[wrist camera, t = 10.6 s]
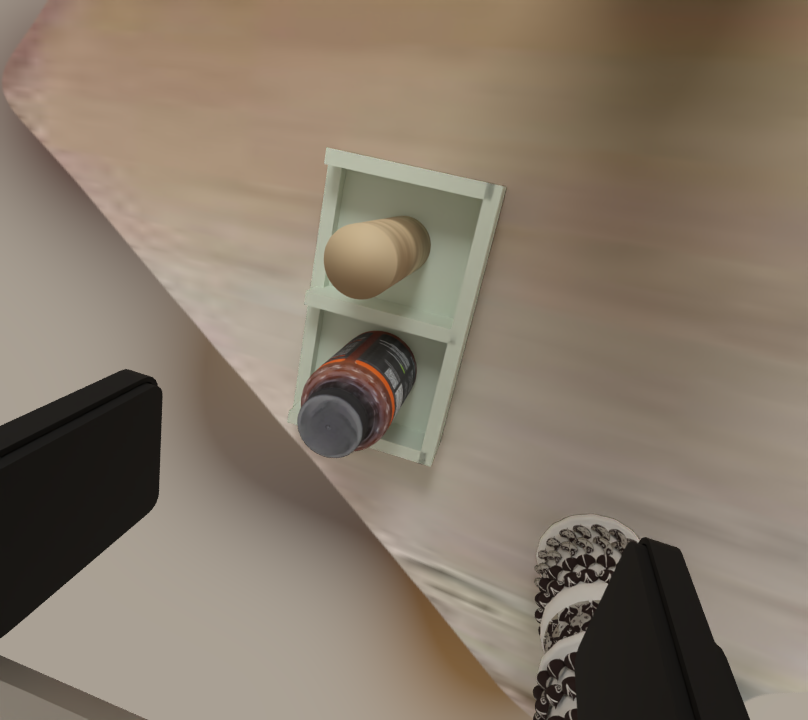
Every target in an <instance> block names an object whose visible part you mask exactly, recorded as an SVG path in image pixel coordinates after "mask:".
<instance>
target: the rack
mask: <svg viewBox="0 0 808 720" xmlns="http://www.w3.org/2000/svg"><path fill="white" fill-rule="evenodd" d="M324 164H327V165H328V169H327V176H326V183H325V190H324V197H323V204H322V211H321V218H320V224H319V231H318V238H317V245H316V252H315V259H314V266H313V273H312V280H311V287H310V289H309V290H307V291H306V295H305V302H304V305H308V307H307V314H306V321H305V328H304V335H303V342H302V349H301V356H300V363H299V370H298V376H297V383H296V390H295V397H294V404H293V408H292V409H291V410H289V414H288V421H287V423H291V424H294V425H297V419H298V414H299V411H300V409H301V396H302V391H303V388H304V386H305V384H306V382H307V380H308V379H309V377H310V376H311V375H312V374H313V373H314V372H315V371H316V370H317V369H318V368H319V367H320V366H322V365H323V364H324V363H325V362H326V361H328V360H329V359H330V358H331V357H332V356H333V355H335V354H336V353H337V352H338V351H339V350H340V349H342V348H343V347H344V346H345V345H346V344H347V343H349V342H350V341H351V340H352V339H354V338H355V337H357V336H358V335H360V334H362V333H365V332H368V331H385V332H389V333H391V334H394V335H396V336H397V337H399V338H400V339H402V340H403V341H404V342H405V343H406V344H407V345H408V347H409V348H410V349H411V351H412V353H413V355H414V358H415V361H416V364H417V374H416V380H415V382H414V385H413V387H412V389H411V391H410V393H409V394H408V396H407V398H406V399H405V401H404V403H403V404H402V406H401V408H400V409H399V411H398V413H397V414H396V416H395V418H394V420H393V421H392V423H391V425H390V426H389V428H388V429H387V431H386V433H385V434H384V435H383V437H382V438H381V439H380V440H379V441H378V442H376V443H375V444H373V445H372V446H370V447H368V448H371V449H374V450H378V451H381V452H384V453H387V454H391V455H394V456H397V457H400V458H403V459H407V460H410V461H413V462H416V463H420V464H423V465H426V466H429V467H431V465H432V463H433V460H434V458H435V455H436V452H437V450H438V447H439V444H440V441H441V437H442V433H443V429H444V425H445V422H446V418H447V414H448V410H449V406H450V402H451V399H452V395H453V391H454V387H455V383H456V379H457V376H458V372H459V368H460V364H461V360H462V356H463V353H464V349H465V345H466V341H467V337H468V333H469V330H470V326H471V322H472V318H473V314H474V310H475V307H476V303H477V299H478V295H479V291H480V287H481V284H482V280H483V276H484V272H485V268H486V264H487V261H488V257H489V253H490V249H491V245H492V241H493V238H494V234H495V230H496V226H497V222H498V218H499V215H500V211H501V207H502V203H503V199H504V195H505V192H506V188H507V187H505V186H500V185H496V184H491V183H487V182H482V181H478V180H473V179H468V178H464V177H459V176H455V175H450V174H446V173H441V172H437V171H432V170H427V169H423V168H418V167H414V166H409V165H405V164H400V163H396V162H391V161H386V160H382V159H377V158H373V157H368V156H364V155H359V154H355V153H350V152H345V151H341V150H336V149H332V148H327V147H326V154H325V161H324ZM396 216H409V217H412V218H415V219H416V220H418V221H419V222H421V223H422V224H423V225H424V227H425V228H426V229H427V231H428V233H429V236H430V241H431V249H430V254H429V257H428V259H427V260H426V262H425V263H424V265H423V266H421V267H420V268H419V269H418V270H416V271H414V272H413V273H411V274H410V275H408V276H407V277H405V278H404V279H402V280H401V281H399V282H398V283H396V284H394V285H393V286H391V287H390V288H388V289H387V290H385V291H384V292H382V293H381V294H379V295H377V296H375V297H373V298H369V299H353V298H350V297H347V296H345V295H344V294H342V293H340V292H339V291H338V290H337V289H336V288H335V287H334V286H333V285H332V283H331V282H330V280H329V279H328V277H327V274H326V271H325V268H324V251H325V247H326V245H327V242H328V241H329V239H330V237H331V236H332V235H333V234H334V233H335V232H336V231H337V230H338V229H340V228H342V227H344V226H346V225H349V224H354V223H360V222H366V221H372V220H378V219H384V218H390V217H396ZM297 426H298V425H297Z"/></svg>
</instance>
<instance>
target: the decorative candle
mask: <svg viewBox="0 0 808 720" xmlns="http://www.w3.org/2000/svg"><path fill="white" fill-rule="evenodd" d="M639 541H640V540H639V539H638V537H637V536H636V534H635V533H634V532H633V531H632V530H631V529H629V528H628V527H626V526H625V525H623V524H622V523H620V522H618V521H617V520H615V519H612V518H608V517H604V516H600V515H596V514H585V515H573V516H569V517H567V518H565V519H563V520H560V521H558V522H556V523H554V524H552V525H551V527H550V528H549V529H548V530H547V531H546V532H545V533H544V534H543V535H542V537H541V538H540V542H539V545H538V549H537V553H536V558H537V563H538V565H536V566H535V571H536V572H537V573H540V574H541V576H542V578H536V579H535V581H534V582H535V585H536V586H537V587H539V589H540V591H541V592H540V593H538V594H537V595H536V596H535V601H536V604H537V605H538V606H539V607H541V608H539V609H537V610H536V612H535V618H536V620H537V621H538V623H540V626H539V635H540V636H541V643H542V648H543V652H544V655H543V656H542V659H541V662H540V666H539V669H538V673H537V676H536V682H537V686H536V687H534V689H533V695H534V698H535V699H536V700H537V701H536V703H535V710H536V713H535V714H534V717H533V720H578V717H577V701H576V685H575V658H576V653H577V650H578V647H579V645H580V643H581V641H582V638H583V636H584V634H585V632H586V630H587V628H588V626H589V624H590V621H591V619H592V617H593V615H594V613H595V611H596V609H597V607H598V604H599V602H600V600H601V598H602V596H603V594H604V592H605V589H606V587H607V585H608V583H609V581H610V579H611V577H612V575H613V572H614V570H615V568H616V566H617V564H618V562H619V560H620V558H621V555H622V553H623V551H624V549H625V547H626V545H627V544H628V543H629V542H634V543H638V542H639Z"/></svg>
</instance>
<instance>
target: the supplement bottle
mask: <svg viewBox="0 0 808 720" xmlns="http://www.w3.org/2000/svg"><path fill="white" fill-rule="evenodd" d="M416 374H417V364H416V361H415V358H414V355H413V353H412V351H411V349H410V348H409V347H408V345H407V344H406V343H405V342H404V341H403V340H402V339H400V338H399V337H397V336H396V335H394V334H391V333H389V332H385V331H368V332H365V333H362V334H360V335H358V336H357V337H355V338H354V339H352V340H351V341H350V342H349V343H347V344H346V345H345V346H344V347H343V348H342V349H340V350H339V351H338V352H337V353H336V354H335V355H333V356H332V357H331V358H330V359H329V360H328V361H326V362H325V363H324V364H323V365H322V366H320V367H319V368H318V369H317V370H316V371H315V372H314V373H313V374H312V375H311V376H310V377H309V379H308V380H307V382H306V384H305V386H304V388H303V391H302V396H301V409H300V411H299V414H298V419H297V425H298V431H299V434H300V436H301V438H302V440H303V441H304V443H305V444H306V445H307V446H308V447H309V448H310V449H311V450H313V451H314V452H316V453H317V454H319V455H322V456H324V457H328V458H340V457H344V456H347V455H349V454H350V453H352V452H353V451H359V450H363V449H366V448H368V447H370V446H372V445H373V444H375V443H376V442H378V441H379V440H380V439H381V438H382V437H383V435H384V434H385V433H386V431H387V429H388V428H389V426H390V425H391V423H392V421H393V420H394V418H395V416H396V414H397V413H398V411H399V409H400V408H401V406H402V404H403V403H404V401H405V399H406V398H407V396H408V394H409V393H410V391H411V389H412V387H413V385H414V382H415V380H416Z"/></svg>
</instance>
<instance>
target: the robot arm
mask: <svg viewBox="0 0 808 720" xmlns="http://www.w3.org/2000/svg"><path fill="white" fill-rule="evenodd" d="M161 420H162V390H161V388H159V387H158V386H157V382H156V380H155V379H154V378H153V377H150V376H147V375H144V374H141V373H138V372H135V371H132V370H127V369H125V370H122V371H119V372H117V373H115V374H112V375H110V376H108V377H106V378H104V379H102V380H99V381H97V382H95V383H93V384H91V385H88V386H86V387H85V388H82V389H80V390H78V391H76V392H74V393H71V394H69V395H67V396H65V397H62V398H60V399H58V400H56V401H54V402H51V403H49V404H47V405H45V406H43V407H40V408H38V409H36V410H34V411H32V412H30V413H27V414H25V415H23V416H21V417H19V418H16V419H14V420H12V421H10V422H8V423H6V424H4V425H1V426H0V638H1V637H3V636H4V635H5V634H7V633H8V632H9V631H10V630H12V629H13V628H14V627H15V626H16V625H18V623H20V622H21V621H22V620H23V619H25V618H26V617H27V616H28V615H29V614H30V613H32V612H33V611H34V610H35V609H36V608H37V607H39V606H40V605H41V604H42V603H43V602H45V601H46V600H47V599H48V598H49V597H50V596H52V595H53V594H54V593H55V592H56V591H57V590H59V589H60V588H61V587H62V586H63V585H64V584H66V583H67V582H68V581H69V580H70V579H72V578H73V577H74V576H75V575H76V574H77V573H79V572H80V571H81V570H82V569H83V568H84V567H86V566H87V565H88V564H89V563H90V562H91V561H93V560H94V559H95V558H96V557H97V556H99V555H100V554H101V553H102V552H103V551H104V550H105V549H107V548H108V547H109V546H110V545H111V544H112V543H113V542H115V541H116V540H117V539H119V538H120V537H121V536H122V535H123V534H124V533H126V532H127V531H128V530H129V529H130V528H131V527H133V526H134V525H135V524H136V523H137V522H138V521H140V520H141V519H142V518H143V517H144V516H145V515H147V514H148V513H149V512H150V511H151V510H152V509H153V507H154V506H155V504H156V502H157V499H158V495H159V475H160V474H159V473H160V447H161ZM575 685H576V701H577V717H578V720H750V718H749V716H748V713H747V711H746V708H745V705H744V703H743V700H742V697H741V695H740V692H739V690H738V687H737V684H736V682H735V679H734V676H733V674H732V671H731V669H730V666H729V663H728V661H727V658H726V656H725V654H724V652H723V650H722V649H721V648H720V647H719V646H718V645H717V644H716V643H715V642H714V639H713V636H712V633H711V631H710V628H709V625H708V623H707V620H706V617H705V614H704V612H703V609H702V606H701V604H700V601H699V598H698V595H697V593H696V590H695V587H694V585H693V582H692V579H691V576H690V574H689V571H688V568H687V566H686V563H685V560H684V557H683V555H682V553H681V551H680V549H678V548H677V547H674V546H671V545H668V544H664V543H661V542H658V541H655V540H652V539H649V538H646V537H645V538H642V539H641V540H640V541H639V542H638V543H634V542H629V543H628V544H627V545H626V547H625V549H624V551H623V553H622V555H621V558H620V560H619V562H618V564H617V566H616V568H615V570H614V572H613V575H612V577H611V579H610V581H609V583H608V585H607V587H606V589H605V592H604V594H603V596H602V598H601V600H600V602H599V604H598V607H597V609H596V611H595V613H594V615H593V617H592V619H591V621H590V624H589V626H588V628H587V630H586V632H585V634H584V636H583V638H582V641H581V643H580V645H579V647H578V650H577V653H576V658H575ZM0 720H147V719H145V718H142V717H140V716H138V715H136V714H133V713H131V712H129V711H127V710H124V709H122V708H120V707H117V706H115V705H113V704H111V703H108V702H106V701H104V700H101V699H99V698H97V697H95V696H93V695H90V694H88V693H86V692H83V691H81V690H79V689H77V688H74V687H72V686H70V685H67V684H65V683H63V682H60V681H58V680H56V679H54V678H51V677H49V676H47V675H44V674H42V673H40V672H37V671H35V670H33V669H31V668H28V667H26V666H23V665H21V664H19V663H17V662H14V661H12V660H10V659H7V658H5V657H3V656H0Z"/></svg>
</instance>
